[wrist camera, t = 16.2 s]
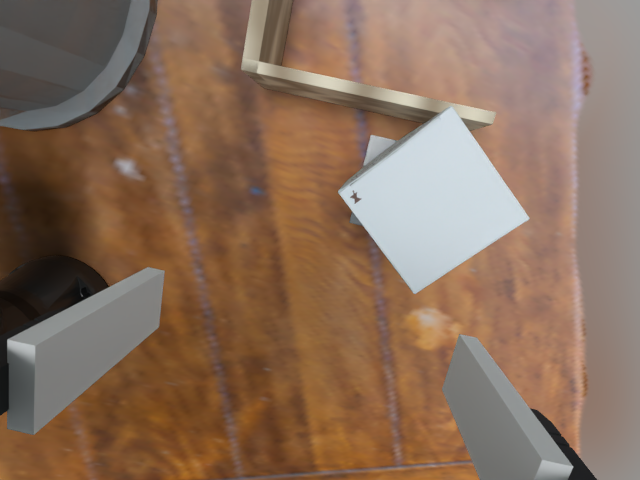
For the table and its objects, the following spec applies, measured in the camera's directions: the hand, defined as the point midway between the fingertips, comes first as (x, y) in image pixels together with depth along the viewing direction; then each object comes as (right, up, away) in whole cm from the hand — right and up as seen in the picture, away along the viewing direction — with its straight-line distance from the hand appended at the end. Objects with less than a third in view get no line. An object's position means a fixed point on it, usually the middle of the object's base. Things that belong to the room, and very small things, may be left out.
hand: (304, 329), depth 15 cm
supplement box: (+10, +10, +24) cm, 28 cm away
